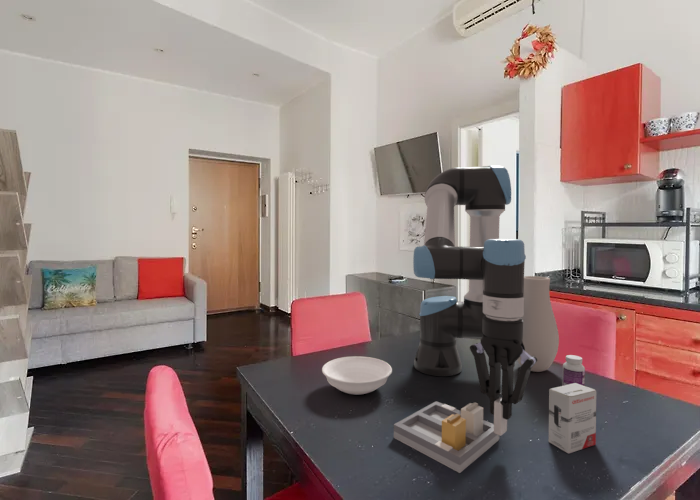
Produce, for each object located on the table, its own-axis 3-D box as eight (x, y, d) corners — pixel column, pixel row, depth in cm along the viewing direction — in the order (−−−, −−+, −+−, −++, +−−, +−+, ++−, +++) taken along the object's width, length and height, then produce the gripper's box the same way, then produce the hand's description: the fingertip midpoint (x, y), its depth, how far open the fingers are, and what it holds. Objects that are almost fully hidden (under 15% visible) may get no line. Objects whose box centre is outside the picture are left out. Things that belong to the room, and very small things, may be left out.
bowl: (406, 389, 105) (406, 367, 104) (360, 414, 90) (360, 389, 90) (354, 371, 118) (354, 351, 118) (307, 390, 104) (307, 368, 103)
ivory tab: (460, 433, 79) (460, 406, 78) (470, 426, 81) (470, 400, 81) (473, 439, 76) (473, 411, 76) (482, 432, 79) (483, 404, 79)
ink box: (574, 433, 82) (575, 381, 81) (596, 445, 77) (598, 390, 76) (546, 441, 78) (548, 387, 78) (568, 454, 74) (570, 397, 73)
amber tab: (441, 446, 74) (441, 417, 73) (452, 439, 76) (452, 411, 76) (454, 453, 72) (455, 423, 71) (465, 445, 74) (465, 416, 74)
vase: (548, 362, 125) (551, 275, 124) (565, 378, 112) (567, 280, 110) (506, 360, 128) (507, 274, 126) (517, 375, 114) (519, 279, 113)
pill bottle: (587, 395, 100) (588, 361, 100) (566, 394, 101) (567, 359, 101) (579, 387, 105) (580, 354, 105) (559, 386, 106) (560, 353, 106)
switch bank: (393, 437, 80) (393, 423, 80) (435, 413, 91) (436, 400, 91) (459, 473, 68) (459, 456, 68) (499, 439, 79) (499, 425, 79)
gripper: (462, 314, 75) (461, 426, 76) (528, 325, 66) (526, 453, 67) (480, 308, 80) (479, 413, 82) (544, 319, 71) (541, 437, 72)
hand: (500, 431), depth 74 cm, fingers closed
